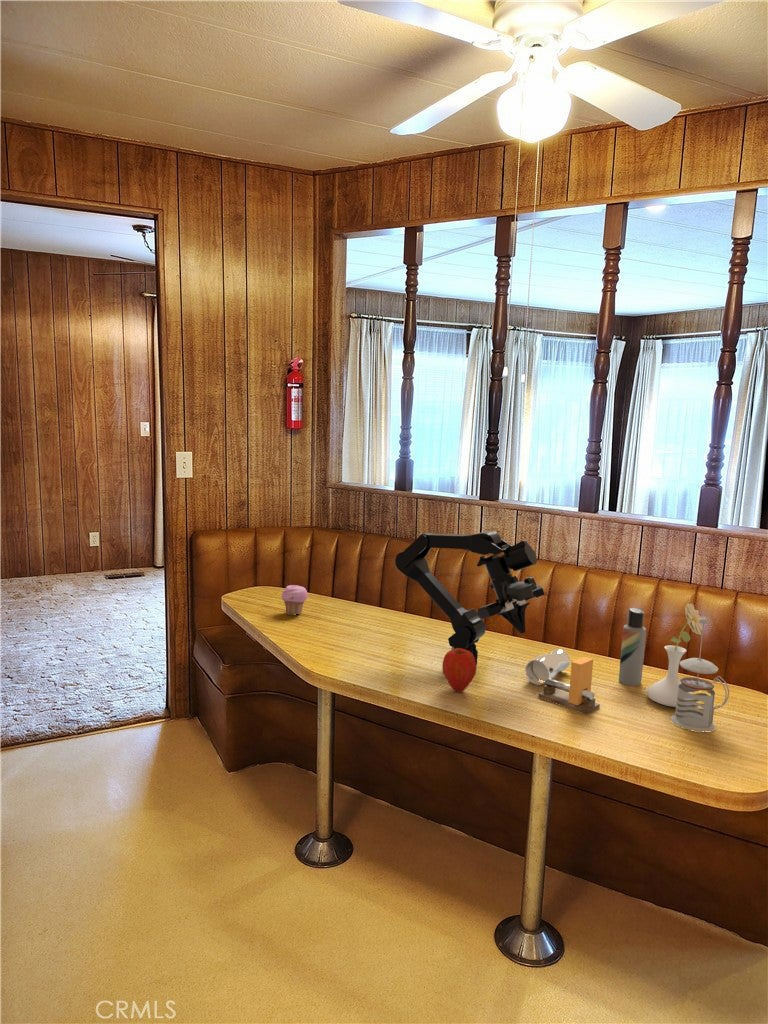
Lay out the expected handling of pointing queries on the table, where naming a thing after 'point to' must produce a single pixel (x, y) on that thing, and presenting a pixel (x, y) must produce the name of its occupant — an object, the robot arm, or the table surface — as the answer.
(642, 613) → the lotion bottle
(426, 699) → the table surface
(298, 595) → the cupcake
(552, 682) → the steel pipe
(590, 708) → the pipe board
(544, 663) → the beer glass
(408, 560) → the robot arm
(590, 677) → the collar
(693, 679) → the french press
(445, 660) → the red strawberry
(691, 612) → the flower in vase
